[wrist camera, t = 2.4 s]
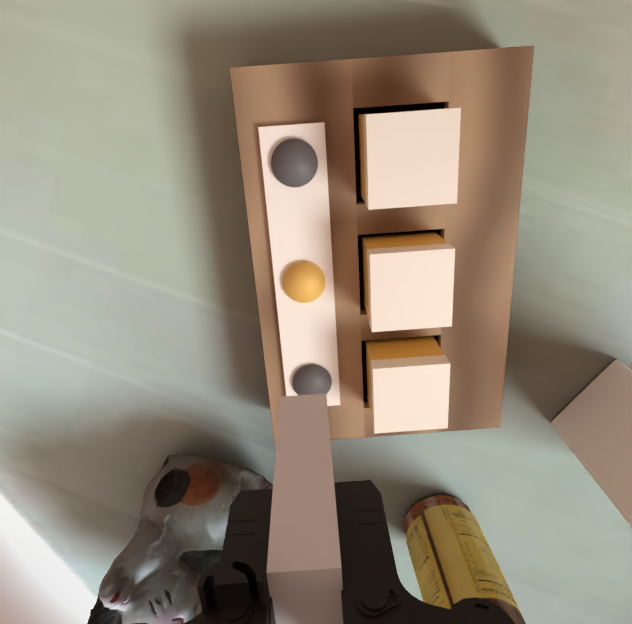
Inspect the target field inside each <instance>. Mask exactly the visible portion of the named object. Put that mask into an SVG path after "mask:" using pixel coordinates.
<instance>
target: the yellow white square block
mask: <svg viewBox="0 0 632 624" xmlns="http://www.w3.org/2000/svg"><path fill="white" fill-rule="evenodd" d="M358 119H359V150H360V182H361V197H362V198H363V200H364V201H365V203H366V207H367V208H368V210H373V209H387V208H401V207H415V206H429V205H443V204H457V193H458V168H459V144H460V120H461V108H444V109H429V110H415V111H401V112H387V113H374V114H360V115H358Z"/></svg>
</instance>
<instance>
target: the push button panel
mask: <svg viewBox="0 0 632 624" xmlns="http://www.w3.org/2000/svg"><path fill="white" fill-rule="evenodd" d="M258 130H259V139H260V149H261V158H262V168H263V178H264V187H265V197H266V206H267V216H268V226H269V235H270V245H271V254H272V264H273V273H274V283H275V293H276V302H277V312H278V321H279V331H280V341H281V350H282V360H283V369H284V379H285V389H286V396H297V395H311V394H325V393H326V395H327V406H335V405H340V388H339V370H338V353H337V335H336V317H335V299H334V281H333V264H332V246H331V228H330V210H329V193H328V175H327V157H326V139H325V122H321V123H307V124H293V125H279V126H265V127H258Z"/></svg>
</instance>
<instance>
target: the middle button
mask: <svg viewBox="0 0 632 624" xmlns="http://www.w3.org/2000/svg"><path fill="white" fill-rule="evenodd" d="M362 245H363V276H364V306H365V309H366V312H367V315H368V318H369V325H370V328H371V331H372V332H382V331H396V330H409V329H423V328H437V327H451V326H452V313H453V289H454V265H455V248H454V247H453V246H452V245H451V244H450V243H447V242H446V241H445V240H444V239H442V238H441V237H440V236H439V235H438V234H437V233H436V232H431V233H417V234H403V235H389V236H375V237H362Z"/></svg>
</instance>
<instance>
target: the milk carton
mask: <svg viewBox="0 0 632 624" xmlns="http://www.w3.org/2000/svg"><path fill="white" fill-rule="evenodd" d="M551 425H552V427H553V428H554V429H555V430H556V432H557V433H558V434H559V435H560V437H561V438H562V439H563V440H564V442H565V443H566V444H567V446H568V447H569V448H570V449H571V451H572V452H573V453H574V454H575V456H576V457H577V458H578V460H579V461H580V462H581V463H582V465H583V466H584V467H585V468H586V470H587V471H588V472H589V473H590V475H591V476H592V477H593V479H594V480H595V481H596V482H597V484H598V485H599V486H600V487H601V489H602V490H603V491H604V493H605V494H606V495H607V496H608V498H609V499H610V500H611V501H612V503H613V504H614V505H615V506H616V508H617V509H618V510H619V512H620V513H621V514H622V515H623V517H624V518H625V519H626V520H627V522H628V523H629V524H630V526H631V527H632V370H631V369H630V368H629V367H627V366H626V365H625V364H623V363H622V362H621V361H619V360H614V361H613V362H612V363H611V364H610V365H609V366H608V367H607V368H606V369H605V370H604V371H603V372H602V373H601V374H600V375H599V376H598V377H597V378H596V379H594V380H593V381H592V382H591V383H590V384H589V385H588V386H587V387H586V388H585V389H584V390H583V391H582V392H581V393H580V394H579V395H578V396H577V397H576V398H575V399H574V400H573V401H572V402H571V403H570V404H569V405H568V406H567V407H566V408H565V409H564V410H563V411H562V412H561V413H560V414H559V415H558V416H557V417H556V418H555V419H554V420H553V421H552V422H551Z"/></svg>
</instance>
